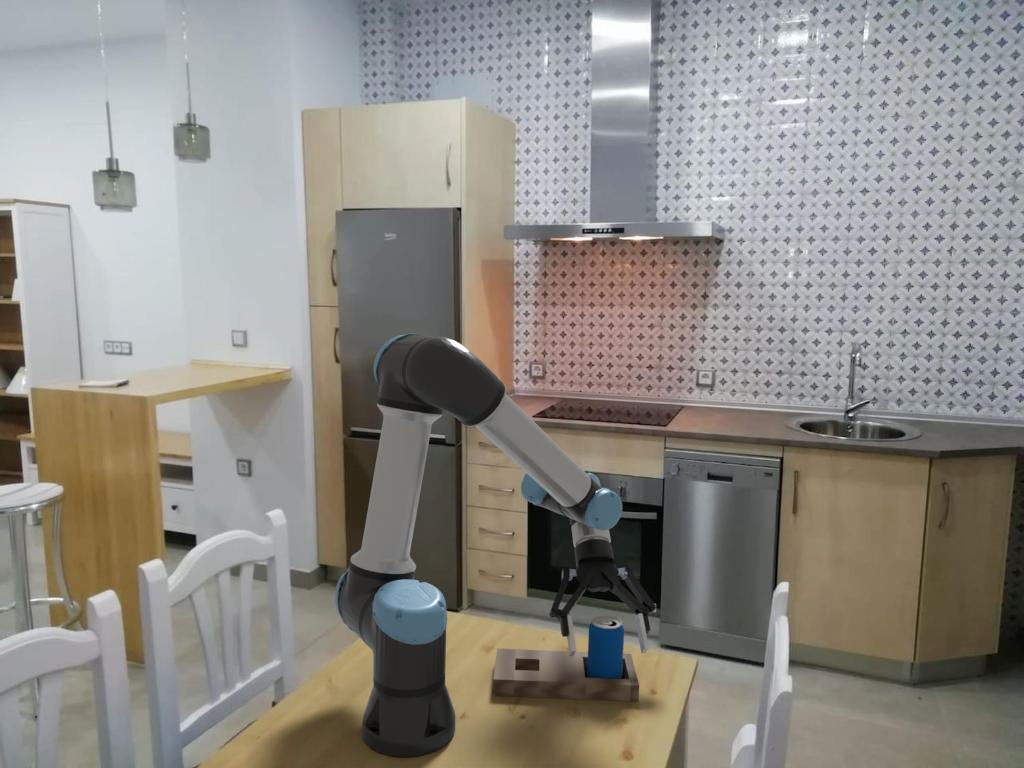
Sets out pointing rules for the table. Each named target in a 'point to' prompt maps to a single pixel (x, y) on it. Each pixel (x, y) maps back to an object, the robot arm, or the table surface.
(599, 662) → the beverage can
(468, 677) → the table surface
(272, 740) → the table surface
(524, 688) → the hole board
